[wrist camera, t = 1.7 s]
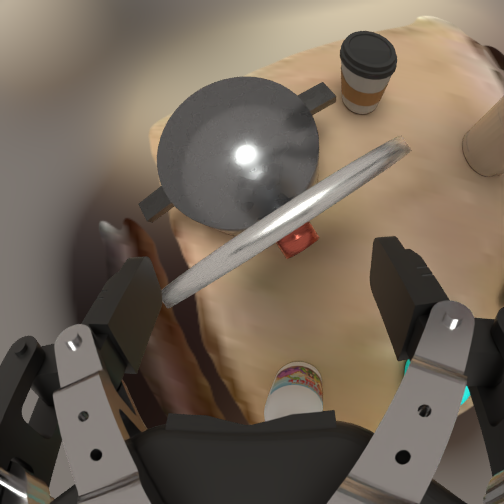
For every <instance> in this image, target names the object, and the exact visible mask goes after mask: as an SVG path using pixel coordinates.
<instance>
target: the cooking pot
mask: <svg viewBox="0 0 504 504" xmlns="http://www.w3.org/2000/svg"><path fill="white" fill-rule="evenodd" d="M335 102H336V96H335V94H334V93H333V92H332V91H331V90H330V89H329V88H328V87H327V86H326V85H325V84H324V83H323V82H322V83H320V84H318V85H316V86H314V87H312V88H310V89H309V90H307V91H305V92H303V93H301V94H300V95H298V96H297V95H296V94H295V93H293V92H292V91H291V90H289V89H288V88H286V87H284V86H282V85H281V84H278V83H276V82H273V81H271V80H267V79H263V78H257V77H234V78H229V79H224V80H221V81H218V82H214V83H212V84H210V85H208V86H205V87H203V88H202V89H200V90H199V91H197V92H195V93H194V94H193V95H191V96H190V97H188V98H187V99H186V100H185V101H184V102H183V103H182V104H181V105H180V106H179V107H178V108H177V109H176V110H175V112H174V113H173V114H172V116H171V117H170V119H169V120H168V122H167V124H166V126H165V128H164V130H163V133H162V135H161V138H160V142H159V146H158V152H157V169H158V175H159V179H160V182H161V185H162V186H161V187H159V188H158V189H157V190H156V191H154V192H153V193H152V194H150V195H149V196H148V197H147V198H145V199H144V200H143V201H142V202H140V203H139V206H140V208H141V210H142V212H143V214H144V216H145V218H146V220H147V221H148V222H152V223H153V222H154V221H155V220H157V219H158V218H159V217H161V216H162V215H163V214H165V213H166V212H167V211H169V210H170V209H171V208H173V207H174V206H175V207H176V208H177V209H178V210H180V211H181V212H182V213H183V214H185V215H186V216H188V217H189V218H191V219H193V220H195V221H197V222H199V223H202V224H204V225H207V226H209V227H212V228H214V229H217V230H219V231H222V232H224V233H227V234H229V235H233V236H237V235H239V234H240V233H242V232H243V231H245V230H246V229H248V228H249V227H251V226H252V225H254V224H255V223H257V222H258V221H260V220H261V219H263V218H264V217H266V216H267V215H269V214H270V213H272V212H273V211H275V210H276V209H278V208H279V207H281V206H283V205H284V204H286V203H287V202H289V201H290V200H292V199H293V198H295V197H297V196H298V195H300V194H301V193H303V192H304V191H306V190H308V189H309V188H311V187H312V186H314V185H316V184H317V181H318V164H319V138H318V132H317V127H316V124H315V121H314V118H313V116H312V115H314V114H315V113H317V112H319V111H321V110H322V109H324V108H326V107H328V106H329V105H331V104H333V103H335Z"/></svg>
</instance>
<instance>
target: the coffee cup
mask: <svg viewBox="0 0 504 504" xmlns="http://www.w3.org/2000/svg"><path fill="white" fill-rule="evenodd" d="M340 58H341V64H342V65H341V87H342V99H343V102H344V104H345V106H346V107H347V108H348V109H349V110H351V111H352V112H355V113H358V114H366V113H370V112H372V111H373V110H374V109H375V108H376V106H377V104H378V102H379V101H380V99H381V97H382V95H383V93H384V91H385V89H386V87H387V85H388V82H389V80H390V77H391V75H392V74H393V73H394V72H395V69H396V64H397V55H396V52H395V49H394V47H393V45H392V44H391V43H390V42H389V41H388V40H387V39H386V38H384V37H383V36H381V35H379V34H376V33H374V32H369V31H359V32H354V33H352V34H350V35H349V36H348V37H347V38H346V39H345V40H344V41H343V43H342V45H341V50H340Z"/></svg>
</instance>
